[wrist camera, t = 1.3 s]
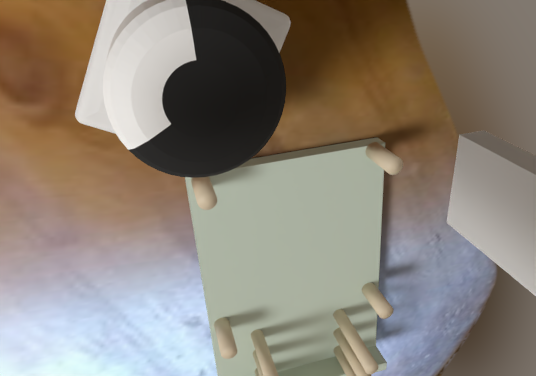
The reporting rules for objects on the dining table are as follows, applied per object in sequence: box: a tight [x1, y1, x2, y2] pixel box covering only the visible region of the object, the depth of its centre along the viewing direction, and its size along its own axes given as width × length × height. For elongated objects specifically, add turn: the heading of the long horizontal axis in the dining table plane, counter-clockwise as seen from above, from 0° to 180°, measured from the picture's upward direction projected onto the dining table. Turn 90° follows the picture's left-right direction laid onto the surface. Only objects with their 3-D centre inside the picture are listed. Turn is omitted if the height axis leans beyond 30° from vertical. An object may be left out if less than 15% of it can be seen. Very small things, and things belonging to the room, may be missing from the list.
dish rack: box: [185, 137, 403, 376], centre depth 33 cm, size 20×14×7 cm
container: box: [75, 0, 291, 178], centre depth 22 cm, size 8×8×13 cm
